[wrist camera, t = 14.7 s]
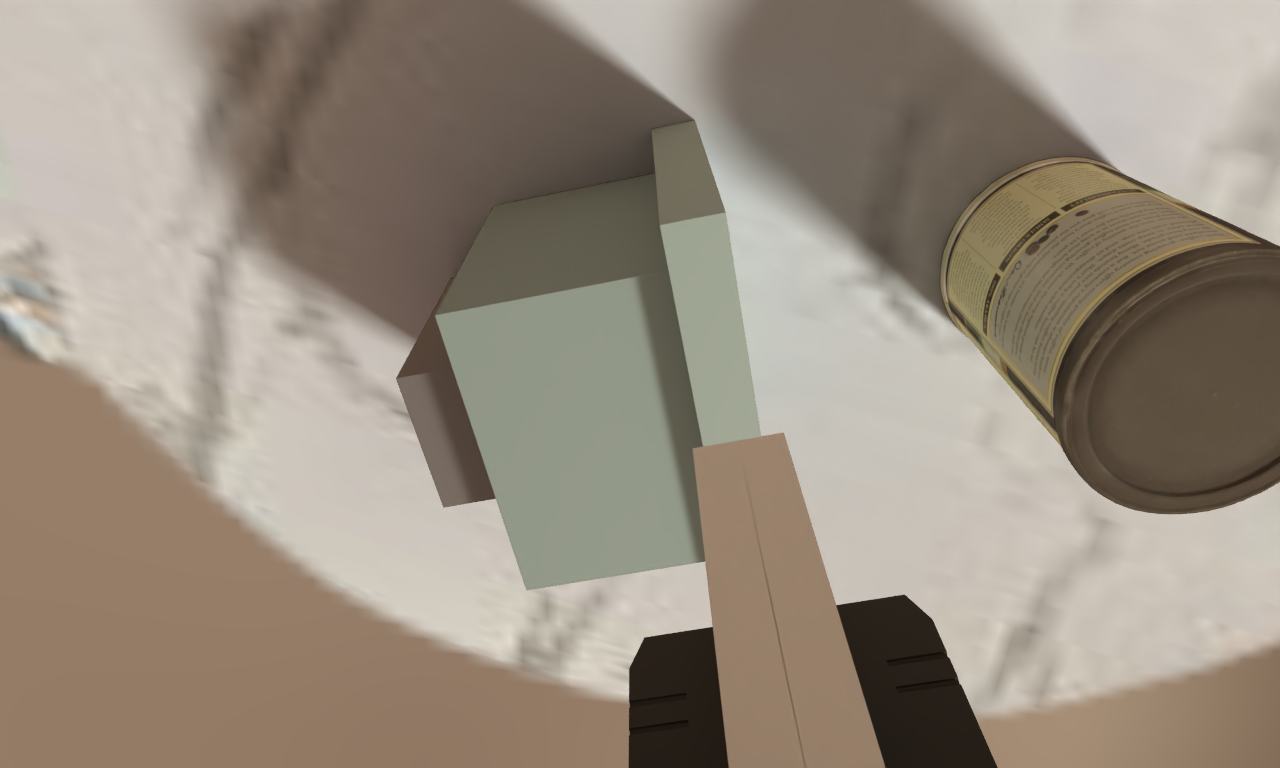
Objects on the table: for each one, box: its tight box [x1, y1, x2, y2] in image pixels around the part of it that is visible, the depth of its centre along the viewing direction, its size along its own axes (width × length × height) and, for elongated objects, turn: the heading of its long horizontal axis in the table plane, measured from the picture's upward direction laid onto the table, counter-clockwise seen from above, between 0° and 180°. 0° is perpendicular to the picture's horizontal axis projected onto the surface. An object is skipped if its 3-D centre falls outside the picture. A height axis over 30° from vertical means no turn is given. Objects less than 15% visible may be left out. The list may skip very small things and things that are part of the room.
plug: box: [396, 277, 496, 507], centre depth 38 cm, size 10×6×11 cm, turn 101°
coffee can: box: [941, 157, 1280, 514], centre depth 36 cm, size 10×10×14 cm
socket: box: [435, 120, 761, 590], centre depth 37 cm, size 10×16×15 cm, turn 11°
